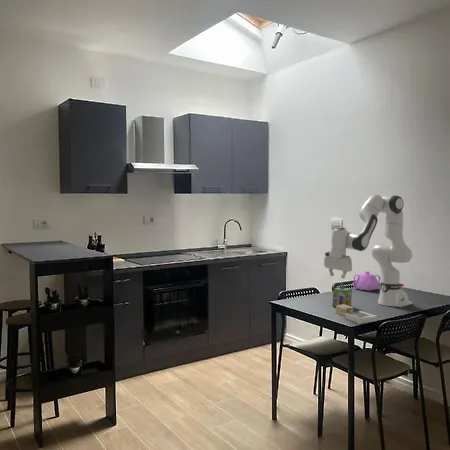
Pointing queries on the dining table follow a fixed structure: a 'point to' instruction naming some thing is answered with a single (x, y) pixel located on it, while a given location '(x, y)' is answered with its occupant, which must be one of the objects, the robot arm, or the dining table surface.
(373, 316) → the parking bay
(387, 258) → the robot arm
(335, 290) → the chalk box
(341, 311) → the cart block
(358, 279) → the teapot
